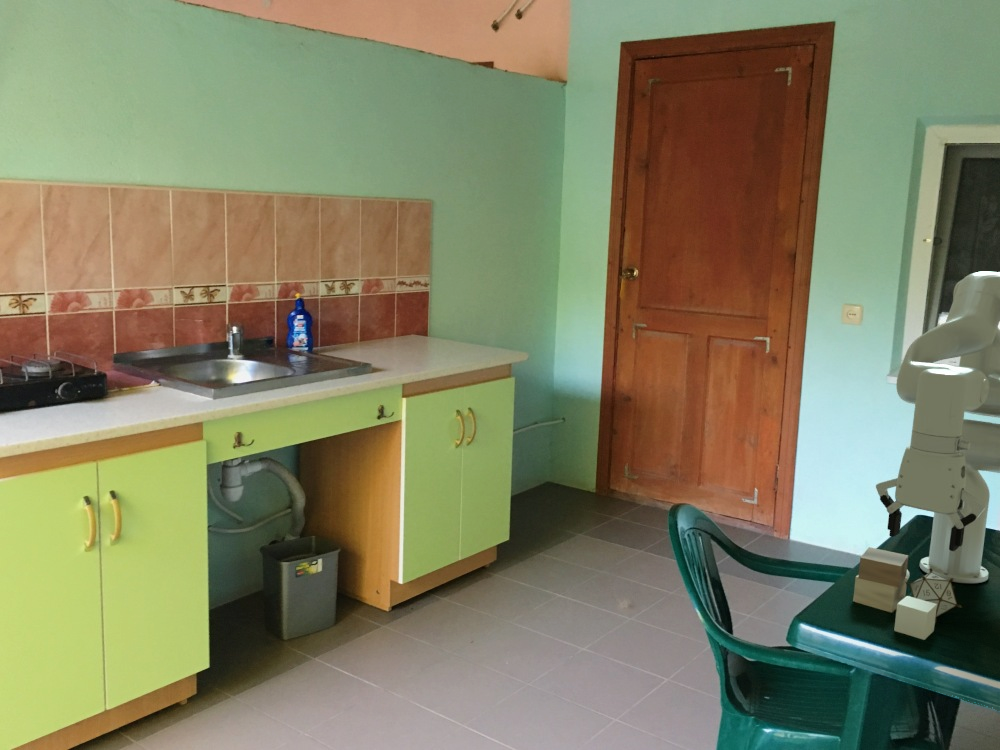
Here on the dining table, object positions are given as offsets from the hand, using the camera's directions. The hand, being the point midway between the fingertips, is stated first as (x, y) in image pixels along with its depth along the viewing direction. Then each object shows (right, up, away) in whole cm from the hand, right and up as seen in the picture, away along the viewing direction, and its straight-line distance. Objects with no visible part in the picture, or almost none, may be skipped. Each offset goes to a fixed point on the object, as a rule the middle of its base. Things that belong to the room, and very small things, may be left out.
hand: (923, 542), depth 157 cm
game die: (+6, -15, +10) cm, 19 cm away
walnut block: (-1, -9, +15) cm, 17 cm away
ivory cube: (0, -16, +3) cm, 16 cm away
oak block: (-1, -14, +15) cm, 21 cm away
